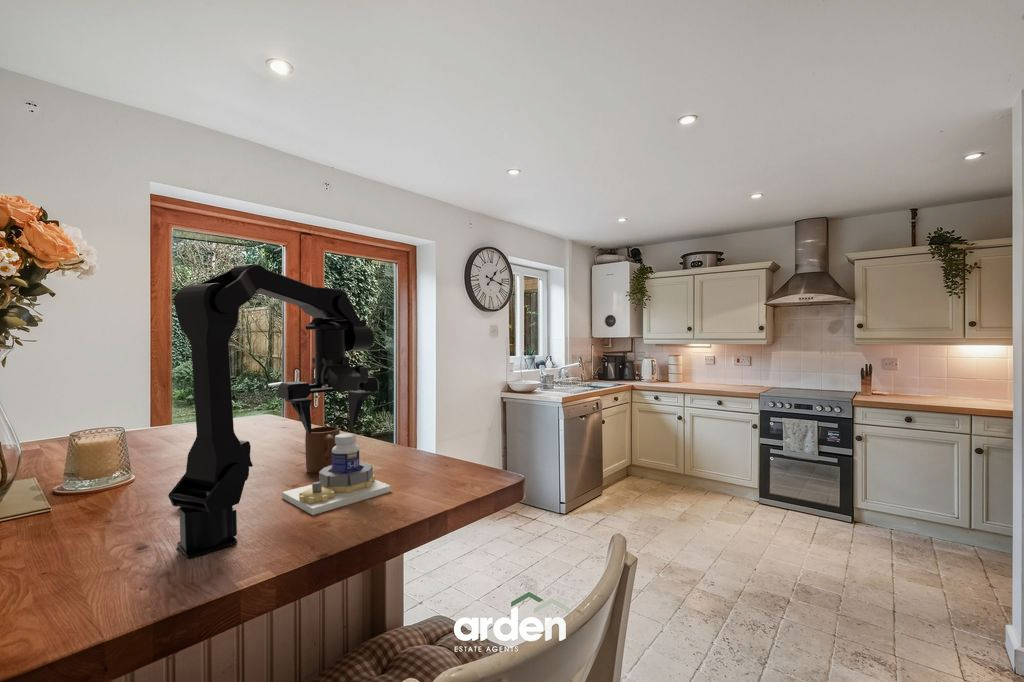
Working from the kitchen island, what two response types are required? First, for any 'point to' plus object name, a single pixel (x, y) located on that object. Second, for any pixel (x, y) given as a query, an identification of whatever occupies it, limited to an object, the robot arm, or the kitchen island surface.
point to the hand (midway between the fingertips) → (331, 429)
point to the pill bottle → (345, 454)
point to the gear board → (336, 490)
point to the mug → (320, 447)
